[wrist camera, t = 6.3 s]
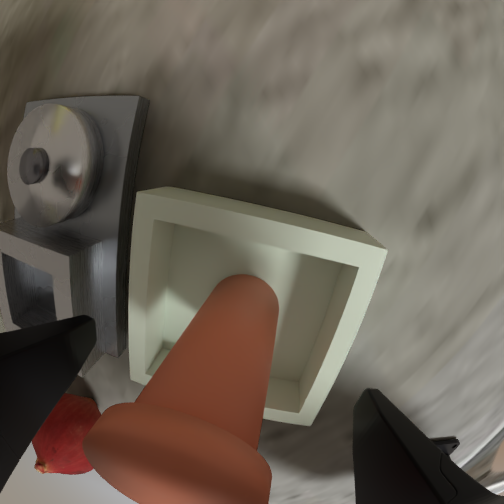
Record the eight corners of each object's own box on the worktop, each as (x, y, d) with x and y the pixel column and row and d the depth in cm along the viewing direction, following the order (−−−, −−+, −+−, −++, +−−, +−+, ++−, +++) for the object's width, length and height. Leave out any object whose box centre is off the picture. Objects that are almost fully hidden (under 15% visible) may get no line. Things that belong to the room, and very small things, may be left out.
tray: (366, 232, 11) (387, 249, 9) (308, 387, 14) (310, 426, 11) (167, 186, 12) (136, 191, 9) (152, 348, 14) (130, 379, 12)
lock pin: (299, 277, 12) (296, 478, 3) (276, 353, 13) (244, 535, 4) (208, 254, 12) (64, 397, 3) (196, 331, 13) (99, 486, 5)
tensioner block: (150, 100, 11) (106, 82, 8) (125, 348, 15) (95, 385, 11) (38, 103, 11) (-6, 98, 8) (32, 305, 15) (-1, 327, 12)
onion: (140, 426, 17) (96, 508, 9) (95, 428, 18) (53, 492, 10) (90, 366, 16) (22, 445, 8) (52, 376, 17) (-5, 436, 9)
